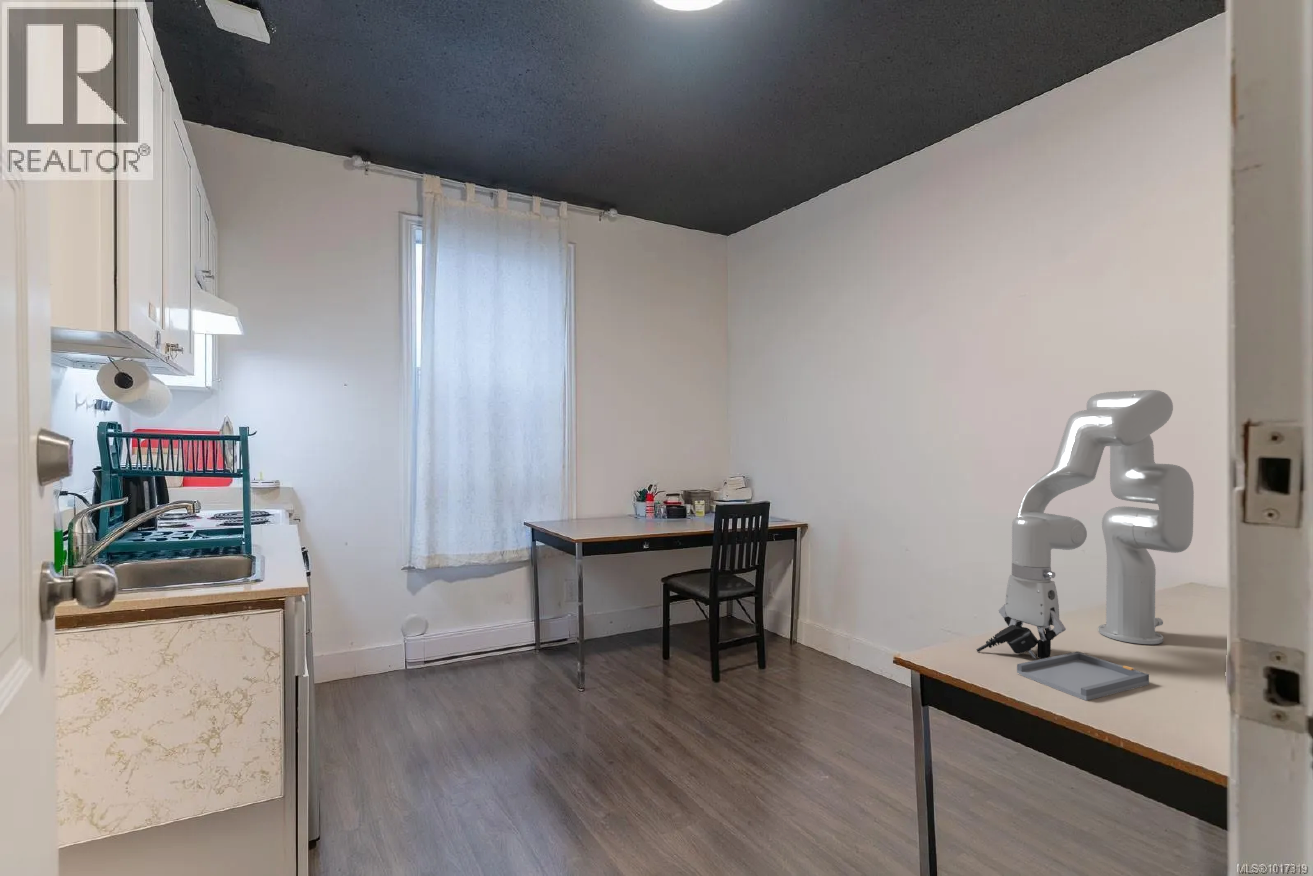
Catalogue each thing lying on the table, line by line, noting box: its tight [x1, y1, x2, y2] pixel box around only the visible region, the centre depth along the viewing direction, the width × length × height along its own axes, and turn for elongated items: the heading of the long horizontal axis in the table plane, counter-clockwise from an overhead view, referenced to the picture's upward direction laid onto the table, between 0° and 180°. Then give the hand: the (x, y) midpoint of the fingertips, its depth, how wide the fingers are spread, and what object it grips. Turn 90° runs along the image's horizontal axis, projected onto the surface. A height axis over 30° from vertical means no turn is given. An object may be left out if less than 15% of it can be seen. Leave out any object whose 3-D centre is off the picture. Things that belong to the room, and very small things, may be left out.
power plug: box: [975, 625, 1039, 660], centre depth 140 cm, size 6×8×12 cm
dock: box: [1016, 651, 1150, 702], centre depth 126 cm, size 19×14×2 cm
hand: (1030, 652), depth 140 cm, fingers closed on power plug, 5 cm apart
